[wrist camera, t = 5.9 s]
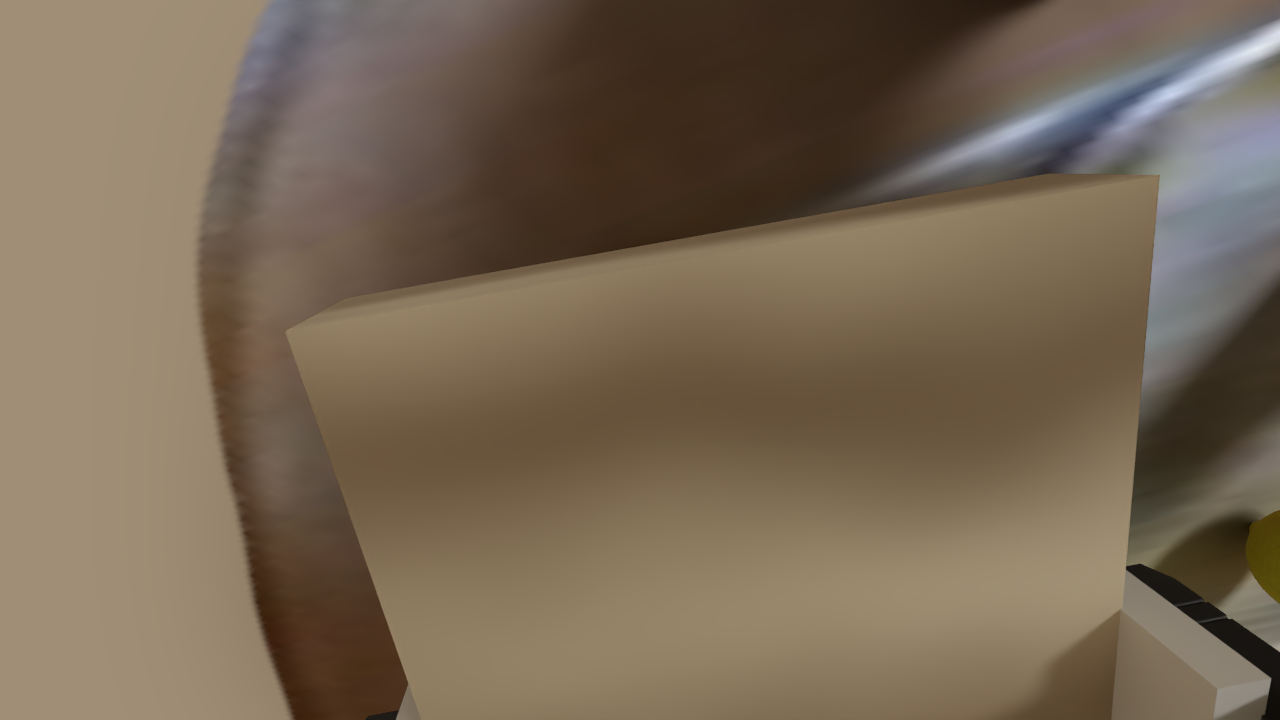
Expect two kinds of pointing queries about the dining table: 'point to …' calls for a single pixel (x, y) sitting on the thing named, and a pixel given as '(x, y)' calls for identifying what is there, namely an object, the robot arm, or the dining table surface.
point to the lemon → (1265, 553)
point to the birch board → (760, 464)
